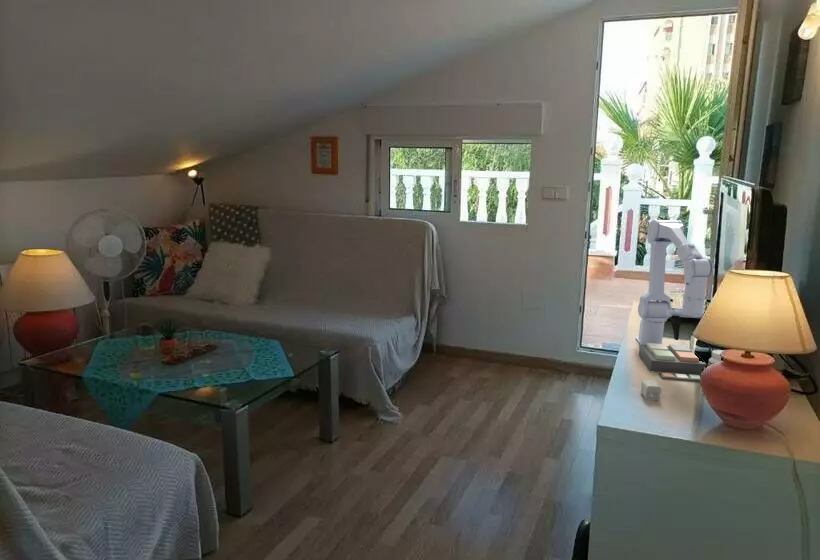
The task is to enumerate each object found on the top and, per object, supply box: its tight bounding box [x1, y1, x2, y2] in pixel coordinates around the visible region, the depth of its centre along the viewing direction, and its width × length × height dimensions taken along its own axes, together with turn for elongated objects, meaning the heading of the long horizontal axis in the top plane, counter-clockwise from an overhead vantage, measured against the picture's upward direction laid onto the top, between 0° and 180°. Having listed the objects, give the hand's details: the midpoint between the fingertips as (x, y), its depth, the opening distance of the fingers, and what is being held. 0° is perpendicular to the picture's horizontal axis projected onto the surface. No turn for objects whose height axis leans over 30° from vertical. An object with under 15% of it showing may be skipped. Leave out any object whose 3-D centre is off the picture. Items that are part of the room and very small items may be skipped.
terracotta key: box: [675, 351, 699, 362], centre depth 192 cm, size 5×5×3 cm
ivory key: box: [647, 343, 669, 352], centre depth 199 cm, size 5×5×3 cm
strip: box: [658, 372, 701, 383], centre depth 185 cm, size 12×4×1 cm, turn 83°
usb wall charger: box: [640, 379, 662, 401], centre depth 168 cm, size 4×7×4 cm, turn 176°
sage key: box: [652, 350, 675, 361], centre depth 193 cm, size 5×5×3 cm
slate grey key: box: [668, 343, 692, 354], centre depth 199 cm, size 5×5×3 cm
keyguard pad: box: [638, 343, 707, 375], centre depth 196 cm, size 16×16×4 cm
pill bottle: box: [707, 349, 724, 366], centre depth 180 cm, size 6×6×10 cm
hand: (688, 340), depth 190 cm, fingers open, 7 cm apart
